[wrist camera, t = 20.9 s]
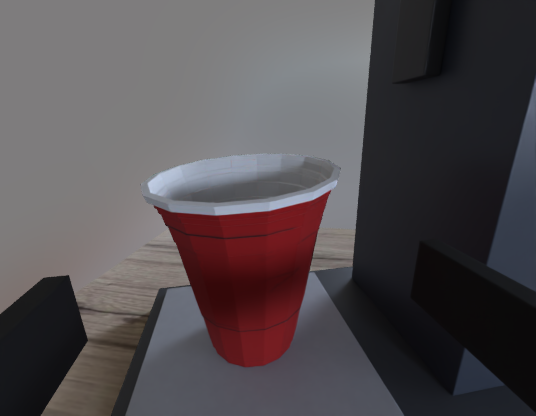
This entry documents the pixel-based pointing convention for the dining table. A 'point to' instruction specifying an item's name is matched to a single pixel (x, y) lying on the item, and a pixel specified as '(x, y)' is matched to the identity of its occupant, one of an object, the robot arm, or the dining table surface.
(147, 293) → the dining table surface
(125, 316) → the dining table surface
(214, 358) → the water dispenser
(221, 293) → the plastic cup
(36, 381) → the robot arm
